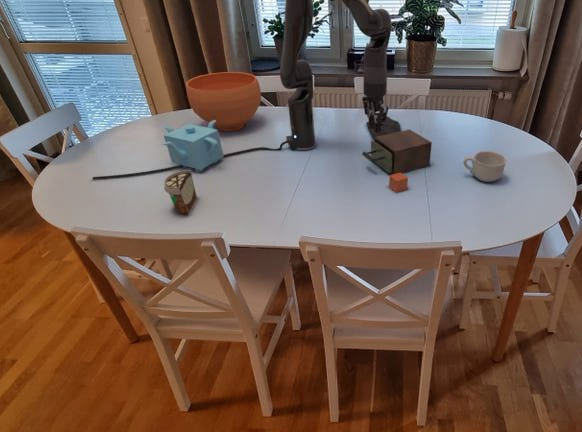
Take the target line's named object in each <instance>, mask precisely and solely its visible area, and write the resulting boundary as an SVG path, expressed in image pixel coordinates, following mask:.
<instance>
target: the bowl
mask: <svg viewBox="0 0 582 432" xmlns="http://www.w3.org/2000/svg"><path fill="white" fill-rule="evenodd" d="M185 88H186V95H187V100H188V103H189V106H190V107H191V109H192V111H193V113H194V114H195V115H197V116H198V117H199V118H200V119H201V120H202V121H204V122H206V123H208V124H209V123H210V122H211V121H213V120H216V122H215V123H214V127H217V128H218V129H219V130H220V131H222V132H223V131H224V132H234V131H239V130H241V129H243V128H244V127H245V125H246V123H247V122H249V120H251V119H252V118H253V117H254V116H255V114H256V113H257V111H258V109H259V107H260V105H261V101H262V92H261V91H262V90H261V86H260V83H259V80H258V78H257V77H256V75H254V74H251V73H249V72H241V71H223V72H214V73H207V74H201V75H198V76H195V77H193V78H190V79H189V80H187V81H186V82H185Z"/></svg>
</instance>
